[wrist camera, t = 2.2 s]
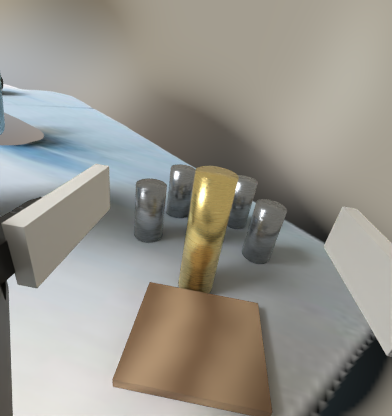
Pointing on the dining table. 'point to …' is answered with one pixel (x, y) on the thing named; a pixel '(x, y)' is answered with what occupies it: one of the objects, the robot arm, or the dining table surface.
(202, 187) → the cylinder
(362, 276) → the robot arm
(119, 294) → the dining table surface
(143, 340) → the board
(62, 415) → the dining table surface
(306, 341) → the dining table surface
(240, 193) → the spacers
